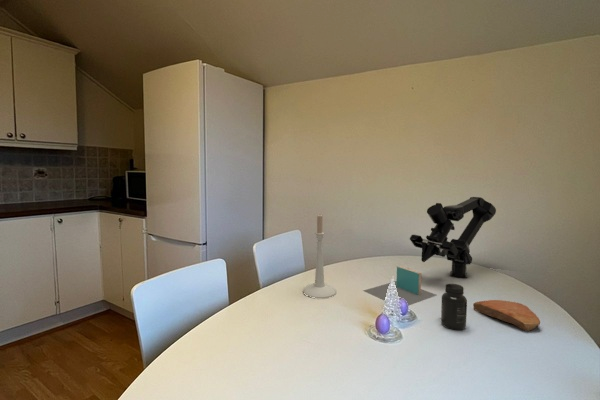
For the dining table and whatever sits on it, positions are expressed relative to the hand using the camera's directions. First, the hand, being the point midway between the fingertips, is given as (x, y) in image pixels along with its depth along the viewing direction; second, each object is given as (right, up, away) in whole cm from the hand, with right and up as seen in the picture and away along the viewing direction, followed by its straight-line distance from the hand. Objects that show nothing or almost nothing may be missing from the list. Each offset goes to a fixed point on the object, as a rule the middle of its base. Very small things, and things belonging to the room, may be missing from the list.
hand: (422, 261), depth 123 cm
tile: (-7, -10, -4) cm, 13 cm away
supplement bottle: (-2, -14, -29) cm, 32 cm away
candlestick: (-41, -11, -4) cm, 43 cm away
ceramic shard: (+16, -14, -26) cm, 33 cm away
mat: (-11, -11, -6) cm, 17 cm away
